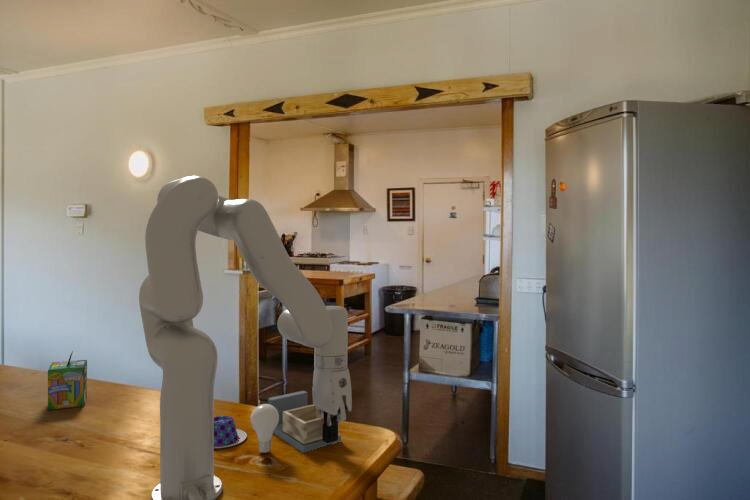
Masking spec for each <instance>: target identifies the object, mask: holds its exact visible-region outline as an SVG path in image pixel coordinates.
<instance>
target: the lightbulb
mask: <svg viewBox="0 0 750 500" xmlns="http://www.w3.org/2000/svg"><path fill="white" fill-rule="evenodd" d="M278 422H279V413H278V411H277V409H276V408H275V407H274V406H272V405H270V404H268V403H262V404H259V405H258V406H256V407H255V408H253V410H252V412H251V415H250V425H251V427H252V428H253V431H255V433H256V436H257V441H258V452H259V453H262V454H268V453H269V452H270V451H271V450H272V438H273V435H274V433H273V431H274V430H275V428H276V427H277V425H278Z"/></svg>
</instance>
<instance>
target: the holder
mask: <svg viewBox="0 0 750 500" xmlns="http://www.w3.org/2000/svg"><path fill="white" fill-rule="evenodd" d="M323 424H324V423H322V422H321V414H320V412H319V411H318V410H317V409H316V406H315V405H314V404H313V403H312V404H307V406H304V407H299V408H295V409H291V410H287V411H283V431H284V432H286V433H287V434H289V435H290V436H292V437H293V438H295V439H297V440H298V441H300V442H301V443H303V444H306V443H309V442H313V441H316V440H320V439H322V434H323ZM339 425H340V423H339V424H338V434H339V435H340V432H339V431H340V430H339Z"/></svg>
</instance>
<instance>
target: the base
mask: <svg viewBox="0 0 750 500" xmlns="http://www.w3.org/2000/svg"><path fill="white" fill-rule="evenodd" d="M308 393H309V392H308V391H306V390H299V391H296V392H291V393H285V394H282V395H276V396H272V397H268V398H267V404H270V405H272V406H274V407H275V408H276V409H277V411H278V413H279V422H278V425H277V427H276V428H275V430H274V431H273V435H275V436H277V437H278V438H280V439H282V440H283V441H285V442H286V443H287V444H289V445H290V446H292V447H294V448H295V449H297V450H298V451H299V452H301V453H302V452H303V453H302V454H305V453H309V452H311V450H312V451H315V450H318V449H317V448H319V449H321V448H320V447H322V448H324V447H323V446H325V447H327V446H326V445H329V444H332V445H334V444H333V443H335V442H339V441H341V442H342V435H341V434H340V433H339V434H338V440H337V441H334V442H330V443H326V442H324V441H323V440H322V439H320V440H316V441H313V442H309V443H306V444H303V443H301V442H300V441H298V440H297V439H295V438H293V437H292V436H290V435H289V434H287V433H286V432H284V431H283V411H287V410H291V409H295V408H299V407H304V406H308ZM339 443H340V442H339ZM335 444H336V443H335ZM329 446H330V445H329ZM314 449H315V450H314ZM308 451H309V452H308ZM304 452H305V453H304Z"/></svg>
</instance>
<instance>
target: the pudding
mask: <svg viewBox="0 0 750 500" xmlns="http://www.w3.org/2000/svg"><path fill="white" fill-rule="evenodd" d="M247 437H248V435H247V433H246V432H245V431H244V430H243V429H239V428H237V426H236V422H235V419H234V417H232V416H228V415H218V416H215V417H214V449H223V448H224V449H225V448H229V447H232V446H236V445H238V444H241V443H242V442H244V441H245V440H246V438H247ZM238 438H240V439H238ZM238 440H239V441H238ZM234 441H235V442H236V443H235V442H234Z"/></svg>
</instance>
